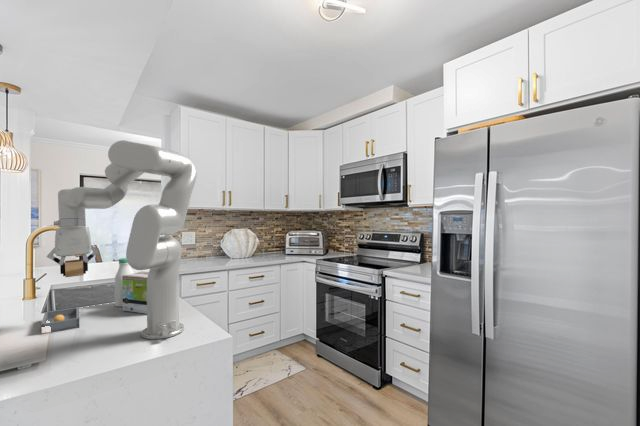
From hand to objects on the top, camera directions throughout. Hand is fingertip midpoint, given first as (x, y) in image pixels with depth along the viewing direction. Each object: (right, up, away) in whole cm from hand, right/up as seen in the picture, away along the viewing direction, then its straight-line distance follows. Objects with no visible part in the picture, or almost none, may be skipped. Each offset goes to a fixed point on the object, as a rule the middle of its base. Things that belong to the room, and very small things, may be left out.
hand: (74, 274), depth 113 cm
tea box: (+16, -18, +17) cm, 30 cm away
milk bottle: (+3, -18, +24) cm, 30 cm away
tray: (-5, -18, 0) cm, 19 cm away
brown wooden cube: (0, -1, 0) cm, 1 cm away
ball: (-6, -15, -1) cm, 16 cm away
